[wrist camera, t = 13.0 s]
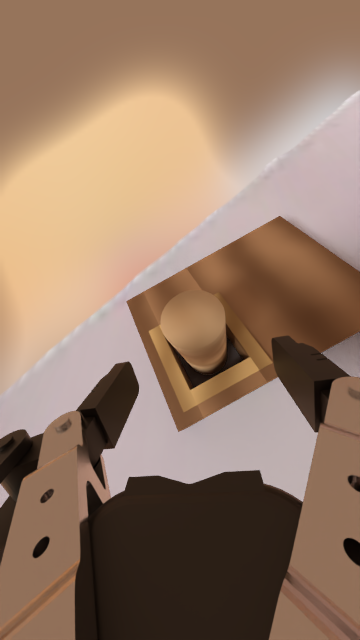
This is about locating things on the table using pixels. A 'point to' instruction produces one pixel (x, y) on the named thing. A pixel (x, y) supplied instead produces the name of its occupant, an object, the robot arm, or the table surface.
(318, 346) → the pin board
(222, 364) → the pin
